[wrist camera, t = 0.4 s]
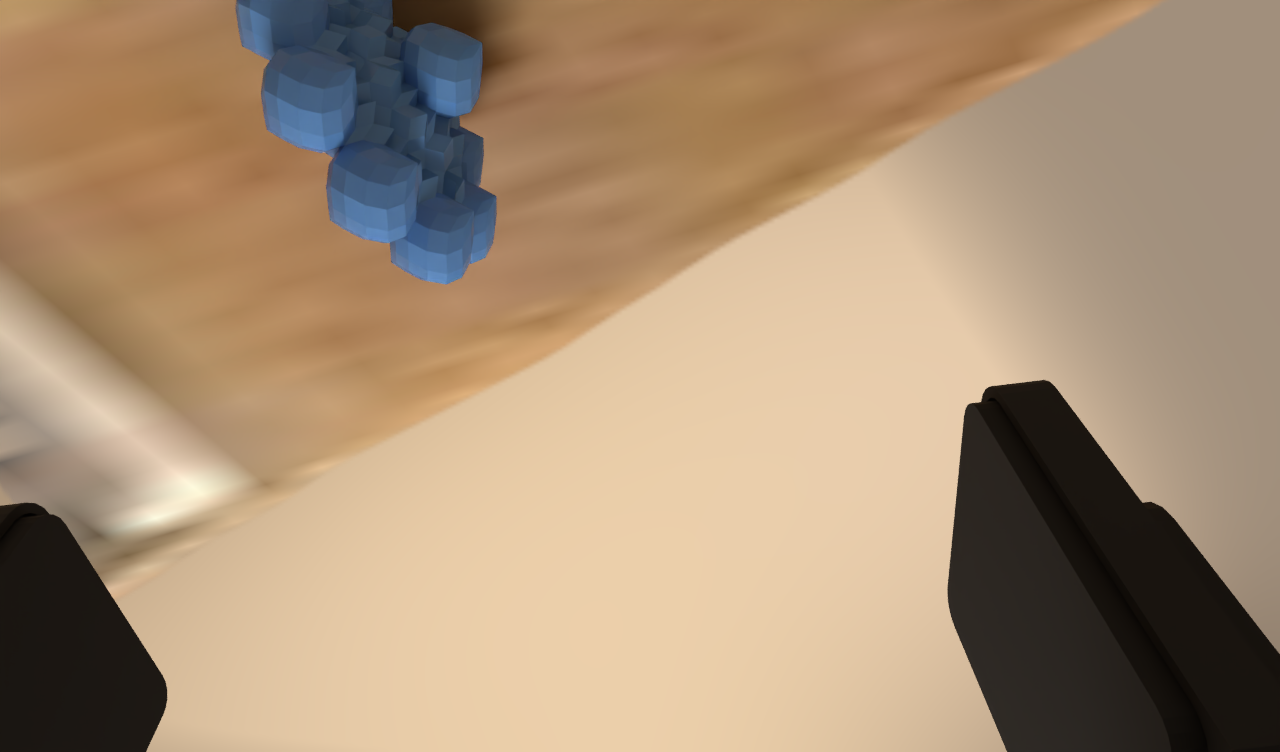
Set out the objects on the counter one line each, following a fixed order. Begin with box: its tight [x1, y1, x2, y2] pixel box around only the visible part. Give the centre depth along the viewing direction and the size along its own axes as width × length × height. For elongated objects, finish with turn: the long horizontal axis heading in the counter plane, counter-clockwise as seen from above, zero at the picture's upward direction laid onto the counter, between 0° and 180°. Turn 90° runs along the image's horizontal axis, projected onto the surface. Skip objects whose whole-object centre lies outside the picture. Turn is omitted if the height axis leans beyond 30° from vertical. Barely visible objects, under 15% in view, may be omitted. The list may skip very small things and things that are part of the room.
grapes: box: [236, 0, 497, 284], centre depth 30 cm, size 12×7×12 cm, turn 32°
